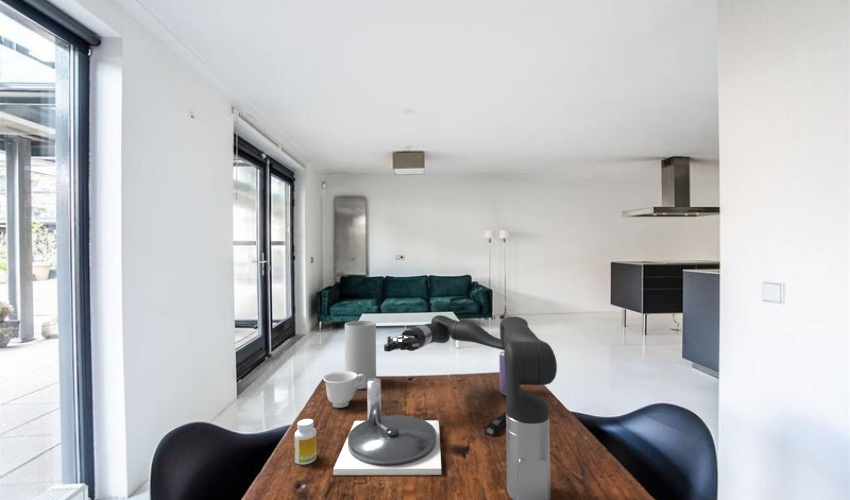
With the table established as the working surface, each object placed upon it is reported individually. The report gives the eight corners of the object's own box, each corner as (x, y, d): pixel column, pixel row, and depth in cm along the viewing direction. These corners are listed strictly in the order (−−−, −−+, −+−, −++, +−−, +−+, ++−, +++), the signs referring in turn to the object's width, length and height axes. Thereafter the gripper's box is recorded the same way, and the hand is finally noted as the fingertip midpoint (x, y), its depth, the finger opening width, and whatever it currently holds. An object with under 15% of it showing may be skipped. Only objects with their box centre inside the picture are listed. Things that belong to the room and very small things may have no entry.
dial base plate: (441, 474, 89) (441, 467, 89) (333, 475, 90) (333, 467, 90) (438, 425, 115) (438, 419, 115) (354, 425, 116) (354, 419, 116)
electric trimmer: (515, 419, 120) (515, 409, 120) (495, 438, 107) (495, 427, 107) (505, 416, 122) (504, 407, 122) (483, 434, 110) (483, 423, 110)
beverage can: (497, 394, 141) (497, 354, 141) (502, 388, 146) (501, 350, 146) (513, 396, 138) (513, 356, 138) (517, 391, 143) (517, 352, 143)
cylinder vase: (343, 381, 157) (343, 321, 157) (373, 378, 161) (373, 319, 161) (346, 391, 145) (346, 327, 145) (378, 387, 149) (378, 325, 149)
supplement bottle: (320, 457, 98) (320, 420, 98) (304, 467, 93) (304, 428, 93) (306, 452, 100) (306, 415, 101) (290, 461, 96) (290, 423, 96)
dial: (436, 465, 90) (436, 407, 91) (338, 466, 91) (337, 408, 91) (435, 421, 114) (434, 375, 115) (357, 421, 115) (357, 376, 115)
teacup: (369, 407, 130) (369, 378, 130) (325, 414, 124) (325, 384, 125) (362, 395, 141) (361, 368, 141) (321, 401, 136) (321, 373, 136)
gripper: (433, 350, 127) (403, 363, 112) (401, 345, 134) (369, 357, 120) (432, 328, 127) (402, 338, 113) (401, 325, 134) (369, 333, 120)
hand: (385, 348), depth 116 cm, fingers closed
